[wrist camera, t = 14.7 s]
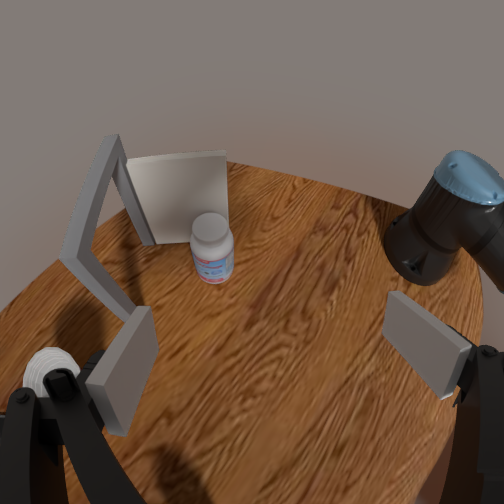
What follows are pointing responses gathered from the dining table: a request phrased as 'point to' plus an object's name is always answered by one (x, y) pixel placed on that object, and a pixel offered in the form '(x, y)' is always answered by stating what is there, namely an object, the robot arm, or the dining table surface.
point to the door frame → (85, 220)
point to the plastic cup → (47, 368)
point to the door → (179, 190)
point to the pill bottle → (212, 248)
